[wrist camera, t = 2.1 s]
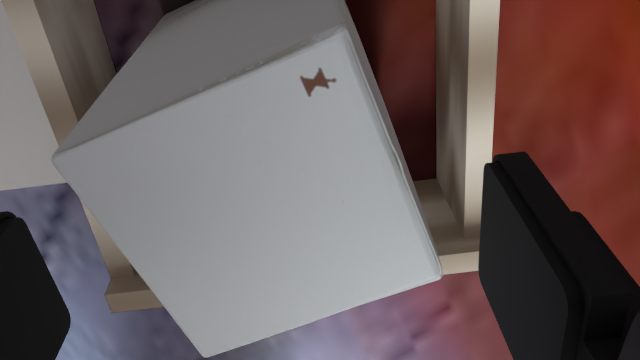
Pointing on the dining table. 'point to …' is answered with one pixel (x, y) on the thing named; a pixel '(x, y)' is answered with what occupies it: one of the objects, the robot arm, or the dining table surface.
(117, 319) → the dining table surface
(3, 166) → the mat
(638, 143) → the dining table surface
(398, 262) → the supplement box
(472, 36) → the cold frame
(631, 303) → the robot arm
